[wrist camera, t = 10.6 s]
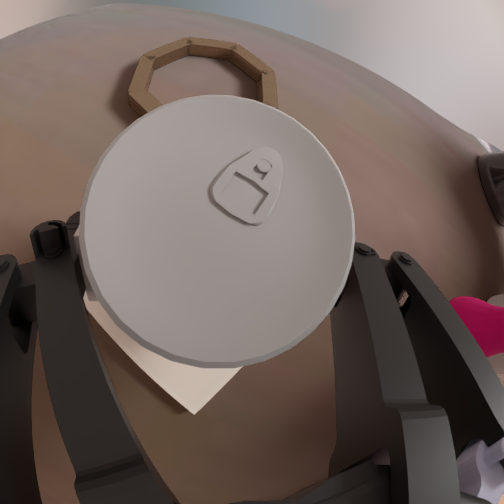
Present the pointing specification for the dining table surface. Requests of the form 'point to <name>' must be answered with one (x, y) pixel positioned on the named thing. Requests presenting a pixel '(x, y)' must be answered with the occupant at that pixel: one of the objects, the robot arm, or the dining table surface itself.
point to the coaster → (166, 366)
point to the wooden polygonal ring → (206, 48)
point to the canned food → (217, 231)
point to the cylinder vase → (499, 362)
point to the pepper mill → (482, 322)
